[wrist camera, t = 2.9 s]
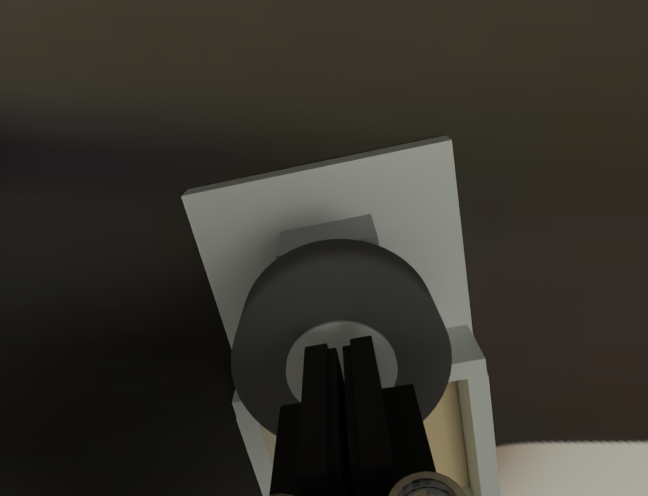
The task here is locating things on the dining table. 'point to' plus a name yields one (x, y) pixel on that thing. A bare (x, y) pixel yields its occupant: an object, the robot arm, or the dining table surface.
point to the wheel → (337, 324)
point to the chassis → (369, 226)
